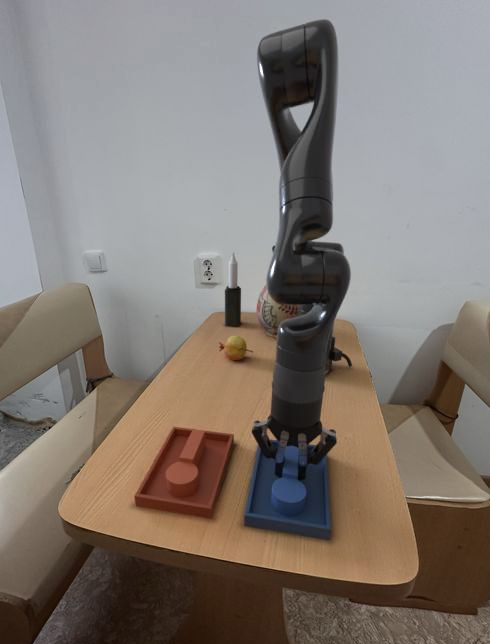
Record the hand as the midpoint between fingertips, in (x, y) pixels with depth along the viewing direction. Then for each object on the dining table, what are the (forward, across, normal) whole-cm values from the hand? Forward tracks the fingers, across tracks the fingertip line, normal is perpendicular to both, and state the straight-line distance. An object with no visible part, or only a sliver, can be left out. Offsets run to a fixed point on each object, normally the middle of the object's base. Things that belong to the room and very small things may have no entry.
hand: (289, 477), depth 62 cm
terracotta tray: (+1, +17, +1) cm, 17 cm away
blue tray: (+1, 0, +1) cm, 1 cm away
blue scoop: (+1, 0, 0) cm, 1 cm away
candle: (+1, +24, -73) cm, 77 cm away
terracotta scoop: (+1, +17, 0) cm, 17 cm away
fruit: (+1, +18, -45) cm, 49 cm away
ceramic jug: (+1, +7, -66) cm, 67 cm away
